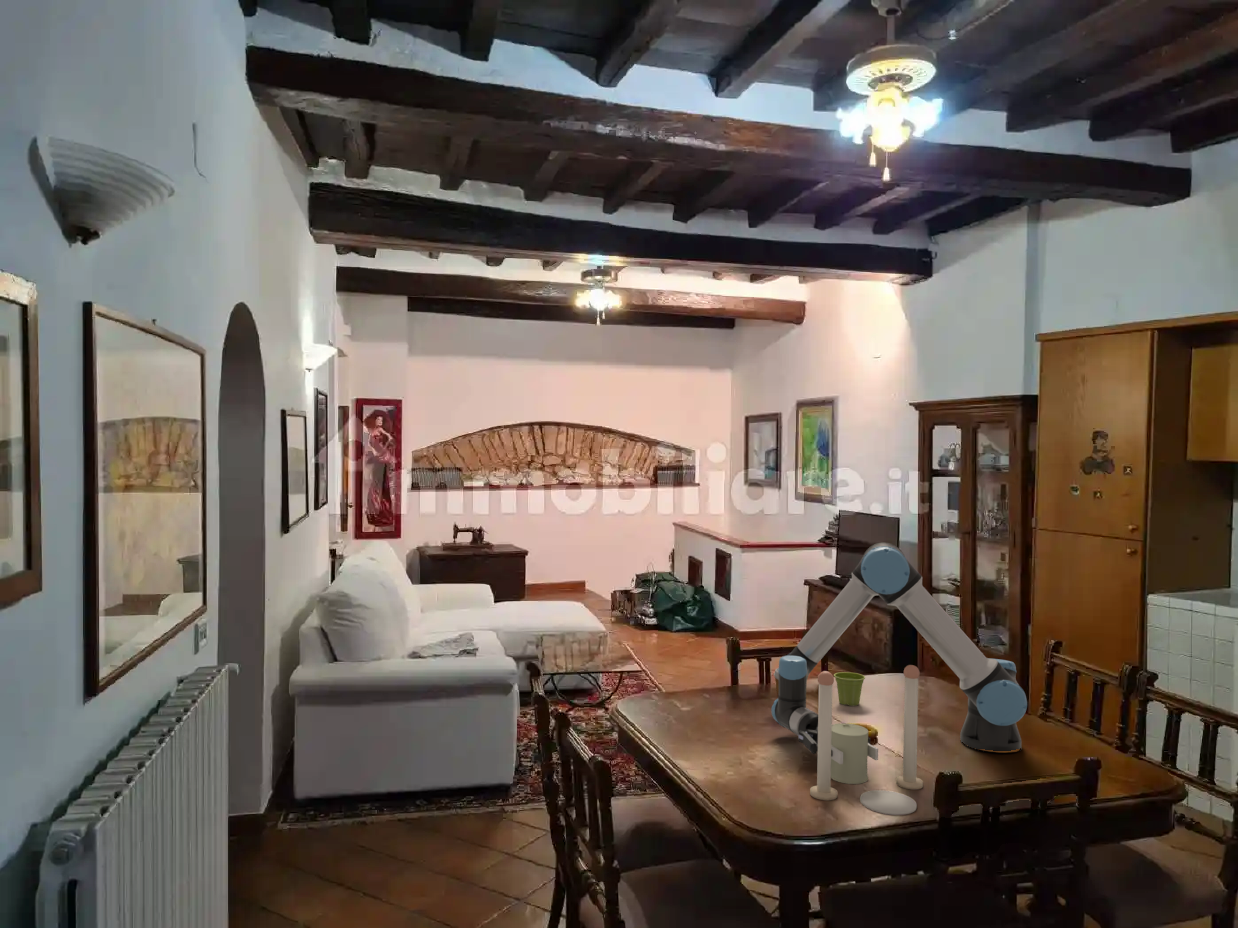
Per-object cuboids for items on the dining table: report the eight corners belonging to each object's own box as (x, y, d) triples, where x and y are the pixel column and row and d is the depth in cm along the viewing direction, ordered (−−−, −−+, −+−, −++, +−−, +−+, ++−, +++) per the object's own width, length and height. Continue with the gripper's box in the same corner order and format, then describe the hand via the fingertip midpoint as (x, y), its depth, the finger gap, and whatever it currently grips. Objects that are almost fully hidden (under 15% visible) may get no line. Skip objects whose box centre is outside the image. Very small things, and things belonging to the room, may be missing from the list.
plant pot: (827, 700, 269) (828, 672, 268) (853, 697, 271) (854, 670, 271) (844, 708, 260) (844, 680, 260) (870, 706, 263) (871, 678, 262)
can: (860, 769, 210) (861, 721, 209) (873, 784, 200) (874, 733, 200) (823, 769, 209) (824, 721, 209) (834, 784, 200) (835, 733, 200)
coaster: (915, 796, 193) (915, 794, 193) (917, 818, 182) (917, 815, 182) (860, 789, 197) (861, 787, 197) (859, 810, 186) (859, 807, 185)
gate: (912, 778, 204) (914, 661, 204) (928, 787, 199) (930, 667, 198) (805, 791, 196) (807, 668, 195) (818, 801, 190) (821, 675, 189)
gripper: (845, 737, 225) (898, 767, 204) (772, 744, 219) (818, 776, 197) (846, 708, 225) (898, 736, 204) (773, 715, 219) (819, 744, 197)
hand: (859, 756), depth 200 cm, fingers closed on can, 9 cm apart
